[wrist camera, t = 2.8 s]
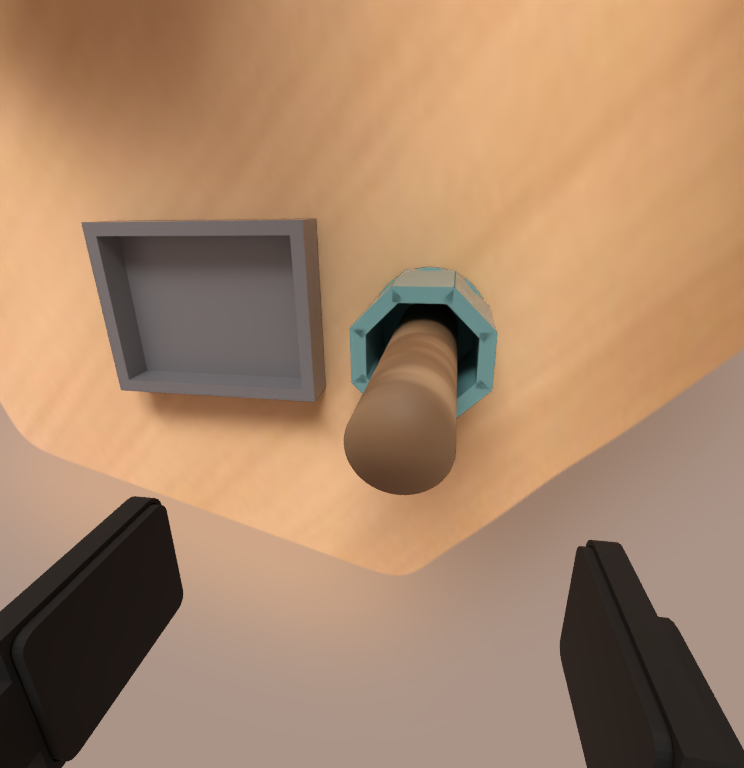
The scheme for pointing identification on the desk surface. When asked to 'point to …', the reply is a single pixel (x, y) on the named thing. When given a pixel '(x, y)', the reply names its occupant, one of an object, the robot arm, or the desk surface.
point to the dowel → (409, 406)
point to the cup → (431, 289)
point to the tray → (212, 305)
